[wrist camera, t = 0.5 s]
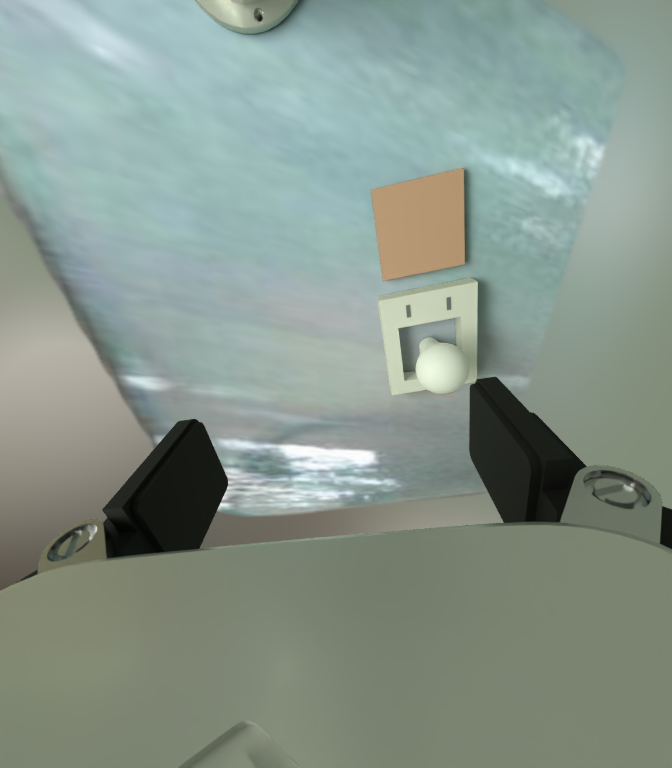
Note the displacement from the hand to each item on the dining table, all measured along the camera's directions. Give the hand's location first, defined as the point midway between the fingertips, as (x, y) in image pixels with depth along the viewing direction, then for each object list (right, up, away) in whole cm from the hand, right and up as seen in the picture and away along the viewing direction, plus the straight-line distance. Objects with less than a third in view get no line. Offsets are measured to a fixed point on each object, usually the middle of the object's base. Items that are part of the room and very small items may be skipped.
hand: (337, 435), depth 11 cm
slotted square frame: (+13, +8, +33) cm, 37 cm away
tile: (+10, +20, +27) cm, 35 cm away
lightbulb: (+13, +8, +34) cm, 37 cm away
